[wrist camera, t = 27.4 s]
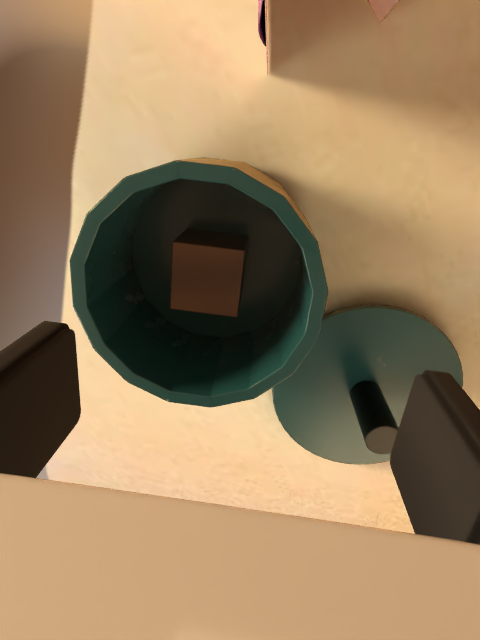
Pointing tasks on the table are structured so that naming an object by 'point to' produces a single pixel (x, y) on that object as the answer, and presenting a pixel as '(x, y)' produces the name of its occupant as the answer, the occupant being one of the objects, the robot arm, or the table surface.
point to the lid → (360, 381)
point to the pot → (155, 283)
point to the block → (208, 272)
